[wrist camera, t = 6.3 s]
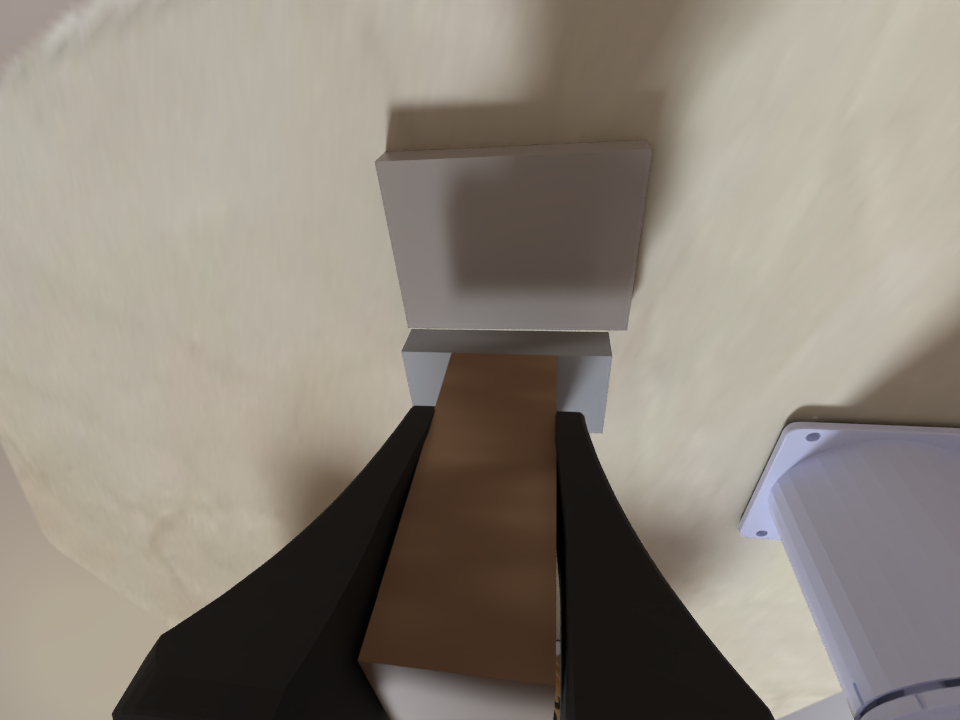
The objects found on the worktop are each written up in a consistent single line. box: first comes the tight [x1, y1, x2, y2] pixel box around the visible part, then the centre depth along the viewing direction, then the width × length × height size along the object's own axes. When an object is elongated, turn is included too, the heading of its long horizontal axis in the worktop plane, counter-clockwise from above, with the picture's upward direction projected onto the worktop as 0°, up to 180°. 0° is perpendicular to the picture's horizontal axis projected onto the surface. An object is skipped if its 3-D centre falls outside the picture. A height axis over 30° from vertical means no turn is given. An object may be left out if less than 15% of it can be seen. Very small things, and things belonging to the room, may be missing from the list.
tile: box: [375, 140, 653, 330], centre depth 16 cm, size 8×2×6 cm
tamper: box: [358, 329, 612, 720], centre depth 11 cm, size 6×3×9 cm, turn 94°
